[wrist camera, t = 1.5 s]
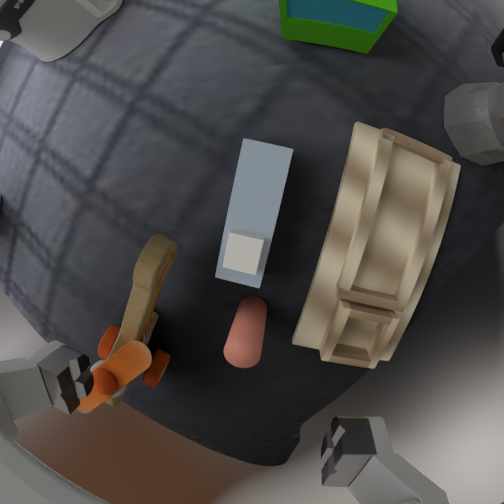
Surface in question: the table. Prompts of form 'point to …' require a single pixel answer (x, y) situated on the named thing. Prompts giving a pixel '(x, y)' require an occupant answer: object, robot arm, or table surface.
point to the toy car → (337, 22)
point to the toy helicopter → (133, 332)
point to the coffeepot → (478, 116)
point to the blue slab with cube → (253, 212)
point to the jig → (377, 247)
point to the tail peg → (246, 333)
